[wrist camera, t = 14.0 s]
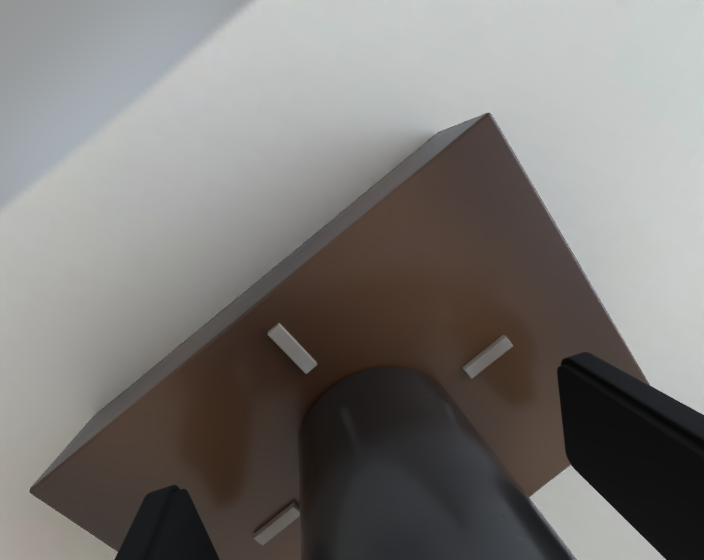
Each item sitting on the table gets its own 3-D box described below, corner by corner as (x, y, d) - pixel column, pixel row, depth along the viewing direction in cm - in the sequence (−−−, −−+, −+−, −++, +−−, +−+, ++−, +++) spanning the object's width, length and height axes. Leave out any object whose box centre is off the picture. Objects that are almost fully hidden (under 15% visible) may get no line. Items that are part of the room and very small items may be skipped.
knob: (262, 437, 9) (217, 811, 4) (400, 331, 9) (569, 551, 4) (364, 535, 10) (446, 926, 5) (487, 443, 10) (711, 734, 5)
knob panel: (439, 131, 11) (494, 108, 8) (583, 354, 14) (663, 400, 11) (92, 417, 12) (20, 498, 8) (299, 579, 14) (301, 682, 11)
